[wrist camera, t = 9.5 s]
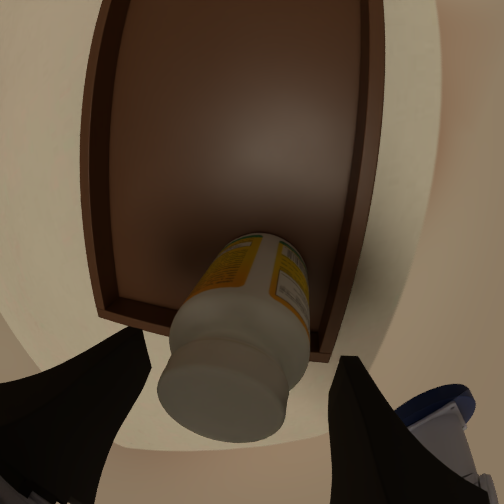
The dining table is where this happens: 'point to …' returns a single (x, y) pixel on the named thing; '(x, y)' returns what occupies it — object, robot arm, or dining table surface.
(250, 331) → the supplement bottle
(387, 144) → the dining table surface
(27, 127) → the dining table surface
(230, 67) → the tray
